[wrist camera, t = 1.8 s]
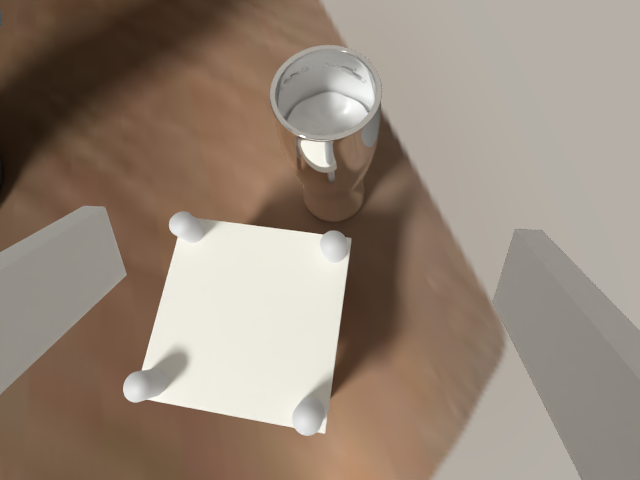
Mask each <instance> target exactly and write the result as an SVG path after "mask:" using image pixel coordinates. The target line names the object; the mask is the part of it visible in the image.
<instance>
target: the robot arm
mask: <svg viewBox="0 0 640 480" xmlns="http://www.w3.org/2000/svg"><path fill="white" fill-rule="evenodd" d="M1 23H2V14H1V10H0V26H1ZM1 181H2V163H1V158H0V186H1ZM126 275H127V274H126V271H125V268H124V265H123V262H122V258H121V255H120V252H119V249H118V246H117V243H116V240H115V237H114V233H113V230H112V227H111V224H110V221H109V218H108V215H107V211H106V208H105V207H98V206H83V207H81V208H79V209H77V210H75V211H74V212H72V213H70V214H68V215H66V216H65V217H63V218H61V219H59V220H57V221H56V222H54V223H52V224H50V225H48V226H47V227H45V228H43V229H41V230H39V231H38V232H36V233H34V234H32V235H30V236H29V237H27V238H25V239H23V240H21V241H20V242H18V243H16V244H14V245H13V246H11V247H9V248H7V249H5V250H4V251H2V252H0V394H1V393H2V392H3V391H4V390H5V389H7V388H8V387H9V386H10V385H11V384H12V383H13V382H14V381H15V380H16V379H17V378H18V377H19V376H20V375H21V374H22V373H23V372H24V371H26V370H27V369H28V368H29V367H30V366H31V365H32V364H33V363H34V362H35V361H36V360H37V359H38V358H39V357H40V356H41V355H42V354H44V353H45V352H46V351H47V350H48V349H49V348H50V347H51V346H52V345H53V344H54V343H55V342H56V341H57V340H58V339H59V338H60V337H62V336H63V335H64V334H65V333H66V332H67V331H68V330H69V329H70V328H71V327H72V326H73V325H74V324H75V323H76V322H77V321H78V320H79V319H81V318H82V317H83V316H84V315H85V314H86V313H87V312H88V311H89V310H90V309H91V308H92V307H93V306H94V305H95V304H96V303H97V302H99V301H100V300H101V299H102V298H103V297H104V296H105V295H106V294H107V293H108V292H109V291H110V290H111V289H112V288H113V287H114V286H115V285H117V284H118V283H119V282H120V281H121V280H122V279H123V278H124V277H125V276H126ZM493 304H494V306H495V308H496V310H497V312H498V314H499V316H500V318H501V320H502V322H503V324H504V326H505V328H506V330H507V332H508V334H509V336H510V338H511V340H512V342H513V344H514V346H515V348H516V349H517V352H518V353H519V356H520V358H521V360H522V362H523V364H524V366H525V368H526V370H527V372H528V374H529V376H530V378H531V380H532V382H533V384H534V386H535V388H536V390H537V391H538V394H539V396H540V398H541V399H542V402H543V404H544V406H545V408H546V410H547V411H548V414H549V416H550V418H551V420H552V422H553V423H554V426H555V428H556V430H557V432H558V434H559V436H560V438H561V440H562V442H563V444H564V446H565V448H566V450H567V452H568V453H569V456H570V458H571V460H572V462H573V464H574V465H575V467H576V470H577V471H578V474H579V476H580V478H581V480H640V331H639V330H638V328H637V327H636V326H634V324H633V323H632V322H631V321H630V320H629V319H628V318H627V317H626V316H625V315H624V314H623V313H622V312H621V311H620V310H619V309H618V308H617V307H616V306H615V305H614V304H613V303H612V302H611V301H610V300H609V299H608V298H607V297H606V296H605V295H604V293H603V292H602V291H601V290H600V289H599V288H598V287H597V286H596V285H594V283H593V282H592V281H591V280H590V279H589V278H588V277H587V276H586V275H585V274H584V273H583V272H582V271H581V270H580V269H579V268H578V267H577V266H576V265H575V264H574V263H573V262H572V261H571V260H570V258H568V257H567V255H566V254H565V253H564V252H563V251H562V250H561V249H560V248H559V247H558V246H557V245H556V244H555V243H554V242H553V241H552V240H551V239H550V238H549V237H548V236H547V235H546V234H545V233H544V232H543V231H542V230H527V229H515V231H514V234H513V237H512V240H511V244H510V247H509V250H508V253H507V257H506V260H505V263H504V266H503V269H502V273H501V276H500V279H499V283H498V286H497V289H496V292H495V295H494V299H493Z"/></svg>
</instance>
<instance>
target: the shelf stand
mask: <svg viewBox="0 0 640 480" xmlns="http://www.w3.org/2000/svg"><path fill="white" fill-rule="evenodd" d="M169 228H170V231H171V232H172V233H173V234H175V235H176V236H178V239H177V243H176V246H175V250H174V254H173V257H172V261H171V265H170V268H169V272H168V276H167V279H166V283H165V287H164V290H163V294H162V298H161V301H160V305H159V309H158V312H157V316H156V320H155V324H154V327H153V331H152V335H151V338H150V342H149V346H148V349H147V353H146V357H145V360H144V364H143V368H142V371H137V372H134V373H132V374H130V375H129V376H128V377H127V379H126V380H125V382H124V386H123V392H124V395H125V397H126V398H127V399H128V400H129V401H131V402H140V401H143V400H146V399H147V400H152V401H157V402H162V403H168V404H173V405H178V406H183V407H189V408H194V409H199V410H204V411H209V412H215V413H220V414H225V415H230V416H236V417H241V418H246V419H251V420H256V421H262V422H267V423H272V424H277V425H282V426H288V427H293V428H295V429H296V430H297V432H299V433H300V434H302V435H306V436H309V435H313V434H315V433H316V432H319V433H324V434H325V431H326V425H327V418H328V411H329V403H330V396H331V388H332V381H333V374H334V366H335V359H336V352H337V344H338V337H339V329H340V322H341V315H342V307H343V300H344V293H345V285H346V278H347V270H348V263H349V256H350V248H351V238H347V237H345V236H344V235H343V234H342V233H341V232H339V231H329V232H327V233H325V234H324V235H323V234H316V233H308V232H300V231H292V230H285V229H277V228H269V227H261V226H253V225H246V224H238V223H230V222H222V221H214V220H207V219H199V218H195V217H194V216H192V215H191V214H190V213H188V212H178V213H176V214H175V215H174V216H173V217H172V218H171V220H170V222H169Z"/></svg>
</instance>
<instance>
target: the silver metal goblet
mask: <svg viewBox="0 0 640 480" xmlns="http://www.w3.org/2000/svg"><path fill="white" fill-rule="evenodd" d="M381 97H382V85H381V80H380V77H379V74H378V72H377V70H376V69H375V67H374V66H373V64H372V63H371V62H370V61H369V60H368V59H367V58H366V57H364V56H363V55H362V54H360V53H358V52H356V51H354V50H352V49H349V48H346V47H342V46H336V45H321V46H315V47H311V48H308V49H305V50H302V51H300V52H298V53H296V54H295V55H293V56H292V57H290V58H289V59H288V60H287V61H286V62H284V63H283V64H282V66H281V67H280V68H279V69H278V71H277V72H276V74H275V76H274V78H273V80H272V83H271V88H270V103H271V107H272V110H273V115H274V121H275V126H276V131H277V135H278V138H279V142H280V146H281V148H282V151H283V153H284V156H285V158H286V161H287V162H288V164H289V166H290V167H291V169H292V171H293V172H294V174H295V175H296V176H297V178H298V179H299V180H300V182H301V183H302V184H303V185H304V187H303V199H304V202H305V205H306V207H307V208H308V210H309V211H310V212H311V213H312V214H313V215H314V216H315V217H317V218H319V219H321V220H324V221H328V222H339V221H343V220H346V219H348V218H350V217H351V216H353V215H354V214H355V213H356V212H357V211H358V210H359V209H360V207H361V205H362V203H363V200H364V184H363V181H362V180H363V178H364V176H365V174H366V172H367V170H368V169H369V167H370V165H371V162H372V160H373V157H374V155H375V152H376V147H377V143H378V138H379V130H380V118H381Z"/></svg>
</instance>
